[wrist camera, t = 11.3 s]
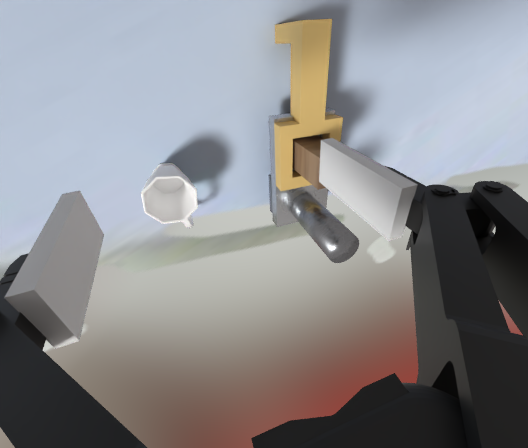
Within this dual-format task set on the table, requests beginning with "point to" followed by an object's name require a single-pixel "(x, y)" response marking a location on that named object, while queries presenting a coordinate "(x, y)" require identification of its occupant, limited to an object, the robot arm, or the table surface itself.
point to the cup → (169, 195)
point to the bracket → (304, 95)
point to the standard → (309, 208)
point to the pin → (308, 158)
